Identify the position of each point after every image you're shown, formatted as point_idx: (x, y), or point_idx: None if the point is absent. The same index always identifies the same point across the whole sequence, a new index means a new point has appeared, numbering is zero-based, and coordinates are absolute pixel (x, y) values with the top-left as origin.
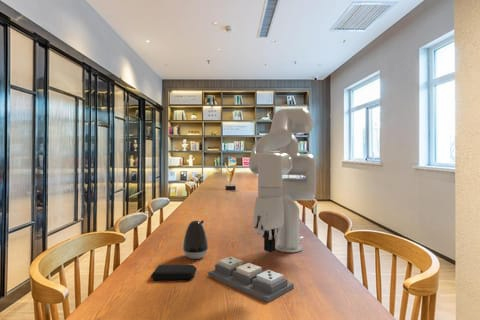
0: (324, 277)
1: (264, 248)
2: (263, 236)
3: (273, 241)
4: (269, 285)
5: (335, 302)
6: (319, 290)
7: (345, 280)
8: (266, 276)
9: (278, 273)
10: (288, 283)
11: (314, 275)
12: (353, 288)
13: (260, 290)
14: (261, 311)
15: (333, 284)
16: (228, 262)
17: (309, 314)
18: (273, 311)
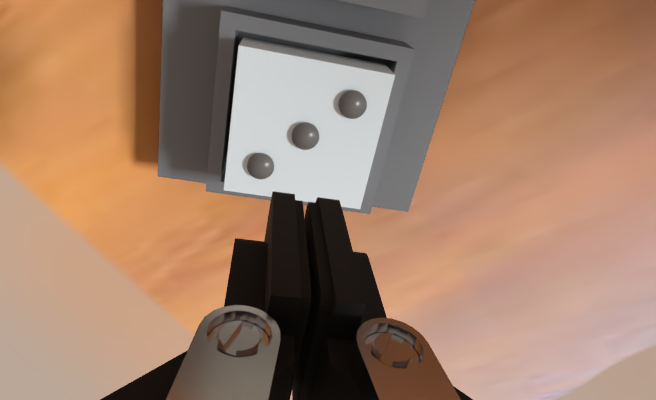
0: (602, 267)
1: (271, 203)
2: (155, 376)
3: (294, 391)
4: (216, 167)
5: None
6: (439, 297)
7: (595, 343)
8: (265, 127)
9: (366, 171)
10: (394, 187)
11: (614, 221)
12: (521, 383)
13: (203, 94)
14: (67, 179)
15: (531, 320)
16: None
17: None
18: (114, 223)
